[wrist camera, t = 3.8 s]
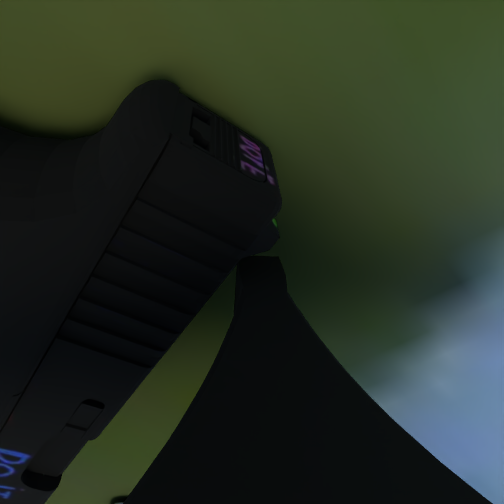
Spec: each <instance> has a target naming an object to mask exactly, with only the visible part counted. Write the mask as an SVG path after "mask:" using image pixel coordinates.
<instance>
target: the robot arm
mask: <svg viewBox="0 0 504 504" xmlns="http://www.w3.org/2000/svg"><path fill="white" fill-rule="evenodd" d="M114 504H493V503H491V502H490V501H489V500H487V499H486V498H485V497H483V496H482V495H481V494H480V493H478V492H477V491H476V490H475V489H473V488H472V487H471V486H470V485H468V484H467V483H466V482H465V481H463V480H462V479H461V478H460V477H458V476H457V475H456V474H455V473H453V472H452V471H451V470H450V469H448V468H447V467H446V466H445V465H444V464H442V463H441V462H440V461H439V460H438V459H436V458H435V457H434V456H433V455H432V454H431V453H430V452H429V451H428V450H426V449H425V448H424V447H423V446H422V445H421V444H420V443H419V442H418V441H416V440H415V439H414V438H413V437H412V436H411V435H410V434H409V433H407V432H406V431H405V430H404V429H403V428H402V427H401V426H400V425H399V424H397V423H396V422H395V421H394V420H393V419H392V418H391V417H390V416H389V415H388V414H387V413H386V412H385V411H384V410H383V409H382V408H381V407H380V406H379V405H378V404H377V403H376V402H375V401H374V400H373V399H372V398H371V397H370V396H369V395H368V394H367V393H366V392H365V391H364V390H363V389H362V388H361V386H360V385H359V384H358V383H357V382H356V381H355V380H354V379H353V378H352V377H351V376H350V374H349V373H348V372H347V371H346V370H345V369H344V368H343V366H342V365H341V364H340V363H339V362H338V361H337V359H336V358H335V357H334V356H333V354H332V353H331V352H330V351H329V349H328V348H327V347H326V346H325V344H324V343H323V342H322V341H321V339H320V338H319V337H318V335H317V334H316V333H315V331H314V330H313V329H312V327H311V326H310V325H309V323H308V322H307V320H306V319H305V317H304V316H303V314H302V313H301V312H300V310H299V309H298V307H297V306H296V304H295V303H294V301H293V300H292V298H291V297H290V295H289V293H288V292H287V283H286V275H285V272H284V269H283V266H282V264H281V262H280V259H279V257H270V256H248V257H245V258H242V259H241V260H240V261H239V262H238V263H237V272H236V287H235V303H234V316H233V319H232V322H231V324H230V327H229V329H228V331H227V334H226V336H225V338H224V341H223V343H222V345H221V348H220V350H219V352H218V354H217V356H216V358H215V360H214V363H213V365H212V367H211V369H210V370H209V372H208V374H207V376H206V378H205V380H204V382H203V384H202V385H201V387H200V389H199V391H198V393H197V394H196V396H195V398H194V399H193V401H192V403H191V404H190V406H189V408H188V409H187V411H186V413H185V414H184V416H183V418H182V419H181V421H180V423H179V424H178V426H177V427H176V429H175V430H174V432H173V434H172V435H171V437H170V438H169V440H168V441H167V443H166V444H165V446H164V447H163V448H162V450H161V451H160V453H159V454H158V455H157V457H156V458H155V460H154V461H153V463H152V464H151V465H150V467H149V468H148V470H147V471H146V472H145V474H144V475H143V477H142V478H141V479H140V481H139V482H138V484H137V485H136V486H135V488H134V489H133V491H132V492H131V493H130V495H129V496H128V497H127V499H126V500H125V501H124V502H120V503H114Z"/></svg>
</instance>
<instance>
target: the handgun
mask: <svg viewBox="0 0 504 504" xmlns="http://www.w3.org/2000/svg"><path fill="white" fill-rule="evenodd" d="M179 89H180V88H179V87H178V86H176V85H175V84H173V83H171V82H169V81H166V80H152V81H148V82H146V83H144V84H142V85H140V86H138V87H137V88H135V89H134V90H133V91H132V92H131V93H130V94H129V95H128V96H127V97H126V98H125V99H124V101H123V102H122V103H121V105H120V106H119V108H118V110H117V111H116V113H115V114H114V116H113V117H112V119H111V121H110V122H109V124H108V125H107V126H106V127H104V128H103V129H102V130H100V131H99V132H97V133H96V134H95V135H91V136H87V137H82V138H77V139H72V140H65V139H53V138H41V137H29V136H27V135H24V134H21V133H18V132H16V131H13V130H10V129H7V128H4V127H2V126H0V504H44V503H45V502H46V501H47V499H48V498H49V497H50V496H51V494H52V493H53V492H54V491H55V490H56V488H57V487H58V485H59V483H60V480H61V476H62V473H63V472H64V470H65V469H66V468H67V467H68V465H69V464H70V463H71V462H72V460H73V459H74V458H75V456H76V455H77V454H78V453H79V451H80V450H81V449H82V448H83V446H84V445H85V444H86V443H87V441H88V440H93V439H96V438H97V437H98V436H99V435H100V434H101V432H102V431H103V430H104V429H105V427H106V426H107V425H108V424H109V422H110V421H111V420H112V419H113V417H114V416H115V415H116V414H117V412H118V411H119V410H120V409H121V408H122V406H123V405H124V404H125V403H126V401H127V400H128V399H129V398H130V396H131V395H132V394H133V393H134V391H135V390H136V389H137V388H138V386H139V385H140V384H141V383H142V381H143V380H144V379H145V378H146V376H147V375H148V374H149V373H150V372H151V370H152V369H153V368H154V367H155V365H156V364H157V363H158V362H159V360H160V359H161V358H162V357H163V355H164V354H165V353H166V352H167V350H168V349H169V348H170V347H171V345H172V344H173V343H174V342H175V340H176V339H177V338H178V337H179V335H180V334H181V333H182V332H183V331H184V329H185V328H186V327H187V326H188V324H189V323H190V322H191V321H192V319H193V318H194V317H195V316H196V314H197V313H198V312H199V311H200V309H201V308H202V307H203V306H204V304H205V303H206V302H207V301H208V299H209V298H210V297H211V296H212V294H213V293H214V292H215V291H216V290H217V288H218V287H219V286H220V285H221V283H222V282H223V281H224V280H225V278H226V277H227V276H228V275H229V273H230V272H231V271H232V270H233V268H234V267H235V266H236V265H237V263H238V262H239V261H240V260H241V259H242V258H245V257H248V256H251V255H255V254H258V253H261V252H265V251H268V250H270V249H271V247H272V246H273V245H274V244H275V243H276V241H277V240H278V239H279V238H280V237H279V232H278V226H277V222H276V220H275V219H274V217H275V216H276V215H277V214H278V212H279V211H280V209H281V206H282V198H281V194H280V189H279V185H278V181H277V176H276V172H275V168H274V163H273V159H272V155H271V152H270V150H269V149H268V147H267V146H265V145H264V144H263V143H261V142H260V141H258V140H256V139H255V138H253V137H251V136H250V135H248V134H247V133H245V132H243V131H242V130H240V129H238V128H237V127H235V126H234V125H232V124H230V123H229V122H227V121H225V120H224V119H222V118H221V117H219V116H217V115H216V114H214V113H212V112H211V111H209V110H208V109H206V108H204V107H203V106H201V105H199V104H198V103H196V102H195V101H193V100H191V99H190V98H188V97H186V96H185V95H183V94H182V93H179Z"/></svg>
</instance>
